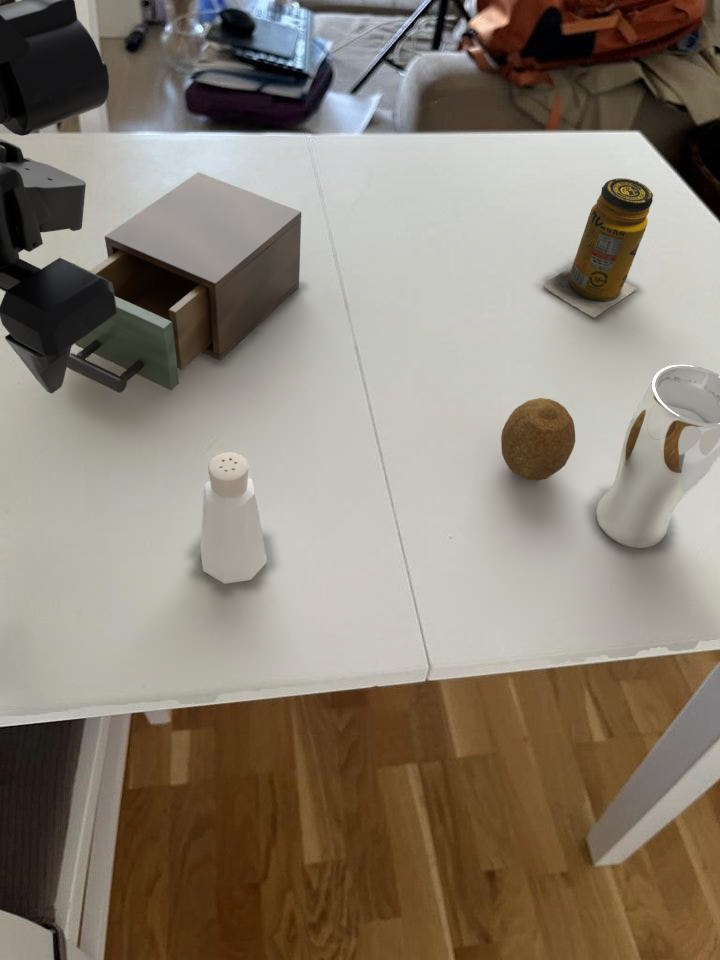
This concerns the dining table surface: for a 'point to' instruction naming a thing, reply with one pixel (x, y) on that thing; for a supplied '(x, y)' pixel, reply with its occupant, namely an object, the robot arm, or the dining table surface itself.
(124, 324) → the drawer
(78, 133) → the dining table surface
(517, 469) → the fruit
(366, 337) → the dining table surface
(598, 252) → the condiment
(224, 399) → the dining table surface
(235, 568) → the salt shaker
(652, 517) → the beer glass
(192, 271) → the cabinet
